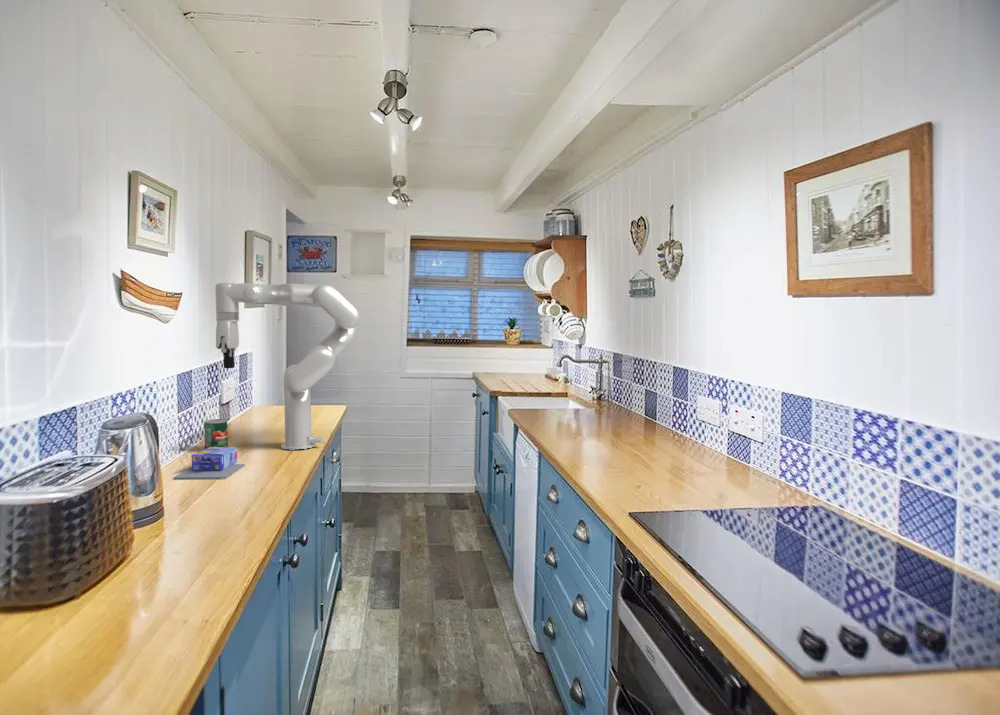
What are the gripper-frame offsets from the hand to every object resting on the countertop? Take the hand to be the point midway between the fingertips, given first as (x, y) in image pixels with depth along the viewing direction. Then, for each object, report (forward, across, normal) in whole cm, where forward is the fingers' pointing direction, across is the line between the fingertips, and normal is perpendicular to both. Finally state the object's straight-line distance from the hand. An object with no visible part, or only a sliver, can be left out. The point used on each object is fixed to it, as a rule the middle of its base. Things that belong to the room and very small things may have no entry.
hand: (229, 367), depth 224 cm
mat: (+31, +28, +4) cm, 42 cm away
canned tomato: (+31, -4, -7) cm, 32 cm away
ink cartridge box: (+28, +17, +4) cm, 33 cm away
